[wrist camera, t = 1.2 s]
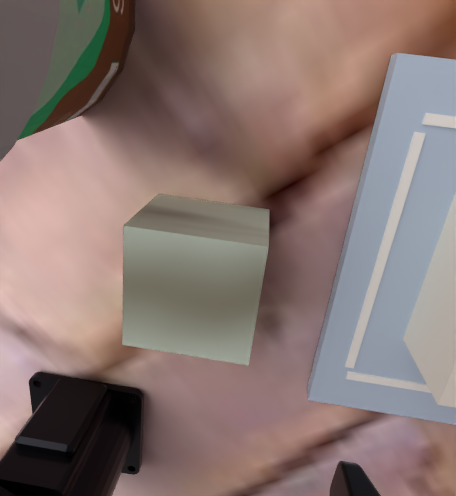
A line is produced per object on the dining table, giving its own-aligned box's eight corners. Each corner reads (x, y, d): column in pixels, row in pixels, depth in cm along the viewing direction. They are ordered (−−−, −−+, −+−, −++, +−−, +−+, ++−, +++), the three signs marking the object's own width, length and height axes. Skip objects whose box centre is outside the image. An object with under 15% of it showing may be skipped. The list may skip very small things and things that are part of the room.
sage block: (253, 305, 19) (248, 365, 15) (154, 289, 19) (122, 344, 15) (269, 208, 17) (268, 247, 13) (159, 193, 17) (123, 225, 13)
